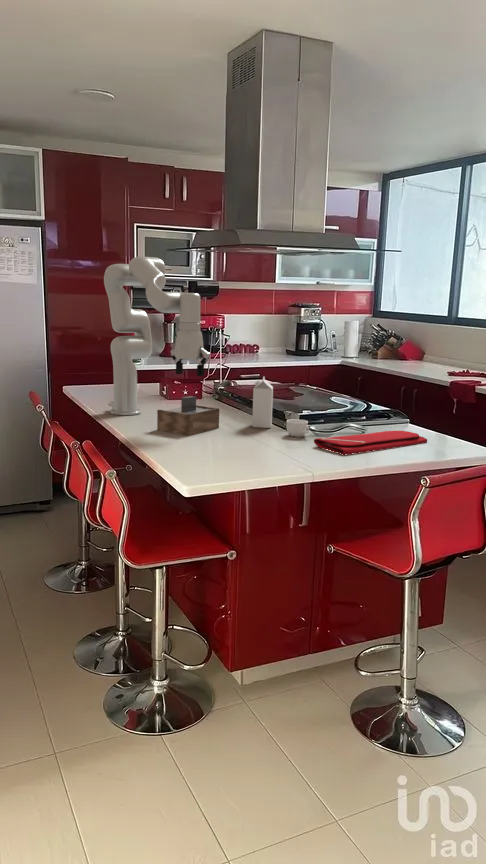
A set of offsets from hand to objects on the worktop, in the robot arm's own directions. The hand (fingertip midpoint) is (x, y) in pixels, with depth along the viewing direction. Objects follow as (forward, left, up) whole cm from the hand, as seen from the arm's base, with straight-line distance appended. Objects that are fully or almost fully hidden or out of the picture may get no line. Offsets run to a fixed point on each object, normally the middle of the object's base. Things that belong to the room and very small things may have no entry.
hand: (189, 374), depth 254 cm
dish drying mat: (+64, +21, -21) cm, 70 cm away
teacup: (+38, +16, -21) cm, 46 cm away
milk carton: (+18, +23, -21) cm, 36 cm away
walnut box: (0, 0, -20) cm, 20 cm away
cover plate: (0, 0, -14) cm, 14 cm away
